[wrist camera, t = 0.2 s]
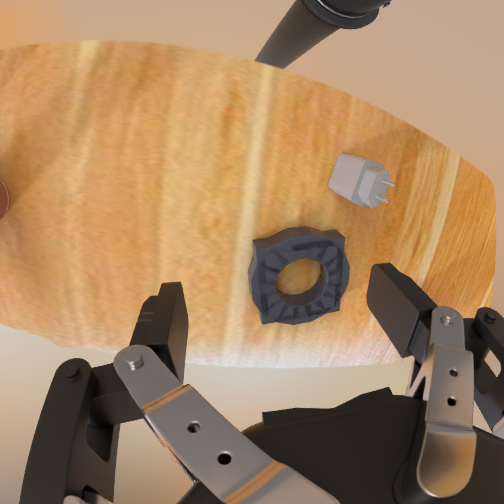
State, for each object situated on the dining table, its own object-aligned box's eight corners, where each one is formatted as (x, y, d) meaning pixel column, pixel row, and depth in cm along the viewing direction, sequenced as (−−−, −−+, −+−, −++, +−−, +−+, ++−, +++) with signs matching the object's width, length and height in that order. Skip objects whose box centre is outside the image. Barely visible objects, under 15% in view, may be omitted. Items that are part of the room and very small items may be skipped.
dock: (244, 233, 38) (246, 242, 36) (342, 222, 40) (352, 229, 37) (252, 319, 44) (255, 331, 42) (338, 304, 45) (345, 314, 43)
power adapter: (359, 159, 36) (411, 175, 25) (345, 195, 38) (392, 223, 27) (340, 150, 35) (390, 163, 25) (326, 188, 37) (370, 213, 26)
